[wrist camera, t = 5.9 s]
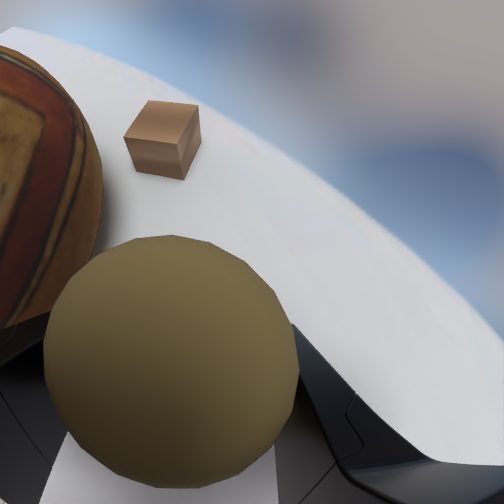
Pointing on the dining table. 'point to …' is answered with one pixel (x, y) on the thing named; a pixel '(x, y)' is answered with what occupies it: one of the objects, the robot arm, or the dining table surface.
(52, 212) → the ceramic pitcher
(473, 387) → the dining table surface
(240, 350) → the cork
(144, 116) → the walnut block
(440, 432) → the dining table surface
